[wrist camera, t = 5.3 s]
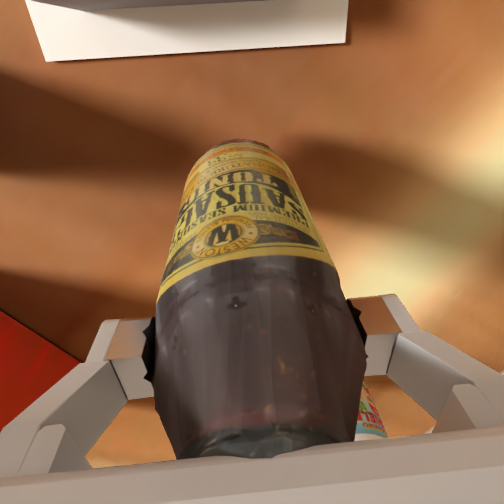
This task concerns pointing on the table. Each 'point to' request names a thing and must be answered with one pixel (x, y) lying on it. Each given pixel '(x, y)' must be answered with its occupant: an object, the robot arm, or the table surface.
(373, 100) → the table surface
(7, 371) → the tall red box
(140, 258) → the table surface
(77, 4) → the mount collar
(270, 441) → the sauce bottle
